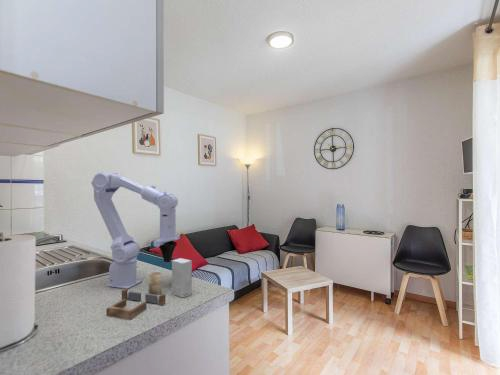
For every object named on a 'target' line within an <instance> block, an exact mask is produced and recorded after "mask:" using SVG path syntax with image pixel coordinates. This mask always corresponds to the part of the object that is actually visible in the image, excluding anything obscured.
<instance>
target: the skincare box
mask: <svg viewBox="0 0 500 375" xmlns="http://www.w3.org/2000/svg"><path fill="white" fill-rule="evenodd" d="M192 267H193V262H192V260H190V259H186V258H182V257H181V258H175V259H173V260H172V259H171V295H173V296H177V297H180V298H186V297H188V296H190V295H192V294H193V292H192V289H193V288H192V286H193V285H192V284H193V283H192V281H193V280H192V278H193V276H192V274H193V271H192V270H193V268H192Z"/></svg>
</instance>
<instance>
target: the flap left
mask: <svg viewBox="0 0 500 375" xmlns="http://www.w3.org/2000/svg"><path fill="white" fill-rule="evenodd" d="M126 300H130V301H139V302H140V301H142V292H140V291H139V292H138V291H130V290H128V291H127V299H126Z"/></svg>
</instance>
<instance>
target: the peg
mask: <svg viewBox="0 0 500 375" xmlns="http://www.w3.org/2000/svg"><path fill="white" fill-rule="evenodd" d="M148 279H149V280H148V281H149V282H148V286H149V288H148V294H154V295H161V294H162V272H157V271H156V272H151V273H149V278H148Z"/></svg>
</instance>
